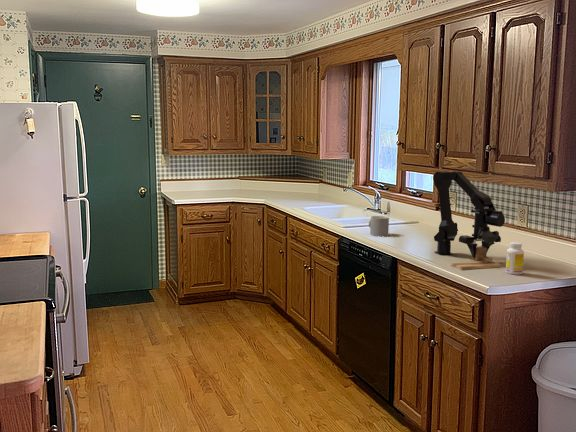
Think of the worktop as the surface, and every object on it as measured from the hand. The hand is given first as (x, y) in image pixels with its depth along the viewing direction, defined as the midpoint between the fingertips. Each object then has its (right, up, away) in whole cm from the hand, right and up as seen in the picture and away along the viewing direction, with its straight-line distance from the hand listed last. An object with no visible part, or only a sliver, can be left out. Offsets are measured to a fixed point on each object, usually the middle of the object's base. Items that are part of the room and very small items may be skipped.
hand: (478, 257), depth 268 cm
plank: (-4, -3, -8) cm, 9 cm away
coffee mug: (-36, +8, +65) cm, 75 cm away
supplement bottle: (+9, -5, -19) cm, 22 cm away
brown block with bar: (+1, -2, -3) cm, 3 cm away
